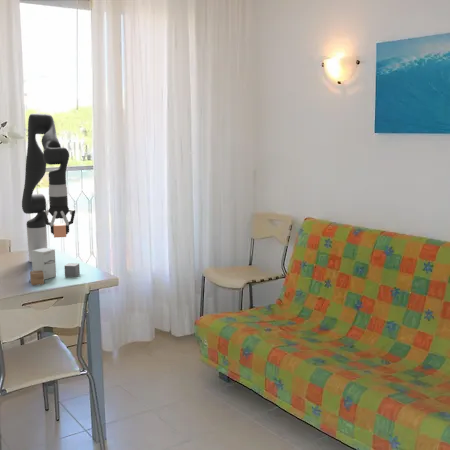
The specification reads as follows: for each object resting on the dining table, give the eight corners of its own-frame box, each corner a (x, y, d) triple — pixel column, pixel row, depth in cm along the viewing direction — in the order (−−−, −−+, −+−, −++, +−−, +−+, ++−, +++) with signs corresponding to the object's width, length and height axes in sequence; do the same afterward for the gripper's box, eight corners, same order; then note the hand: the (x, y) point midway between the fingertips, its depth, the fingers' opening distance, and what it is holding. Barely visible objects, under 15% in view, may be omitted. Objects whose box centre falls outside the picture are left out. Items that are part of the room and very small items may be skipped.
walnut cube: (30, 282, 262) (29, 271, 261) (42, 281, 264) (42, 270, 263) (31, 285, 258) (31, 274, 257) (44, 284, 260) (43, 272, 259)
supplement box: (43, 280, 266) (42, 252, 263) (32, 278, 269) (30, 250, 267) (56, 276, 272) (55, 249, 270) (45, 274, 276) (43, 247, 273)
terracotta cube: (54, 235, 263) (54, 224, 262) (66, 234, 264) (65, 223, 263) (54, 237, 258) (53, 225, 258) (66, 237, 259) (65, 225, 259)
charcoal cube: (69, 273, 277) (68, 263, 276) (79, 274, 276) (79, 263, 276) (64, 276, 272) (64, 265, 271) (75, 277, 271) (75, 266, 271)
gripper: (75, 193, 263) (77, 231, 266) (41, 194, 260) (43, 233, 263) (75, 195, 256) (77, 234, 259) (40, 196, 253) (42, 236, 256)
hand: (60, 233), depth 261 cm, fingers closed on terracotta cube, 5 cm apart
